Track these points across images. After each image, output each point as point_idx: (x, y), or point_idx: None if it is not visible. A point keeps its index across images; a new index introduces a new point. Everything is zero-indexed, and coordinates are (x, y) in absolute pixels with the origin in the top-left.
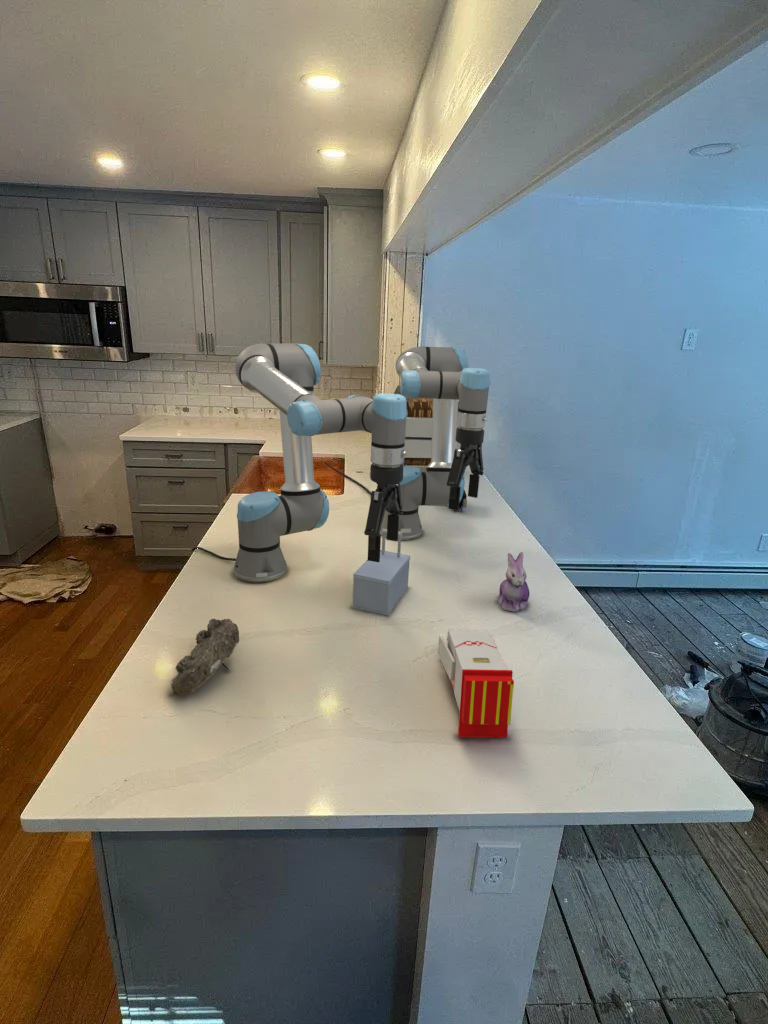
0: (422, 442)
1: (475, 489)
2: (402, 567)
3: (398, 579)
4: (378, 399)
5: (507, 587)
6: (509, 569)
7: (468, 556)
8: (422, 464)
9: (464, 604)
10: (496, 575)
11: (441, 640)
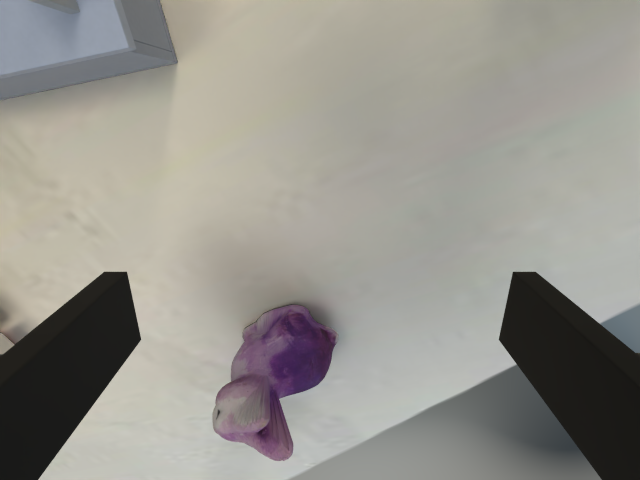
0: None
1: (539, 376)
2: (31, 70)
3: (13, 81)
4: None
5: (234, 370)
6: (230, 407)
7: (522, 131)
8: None
9: (206, 246)
10: (421, 255)
11: None
